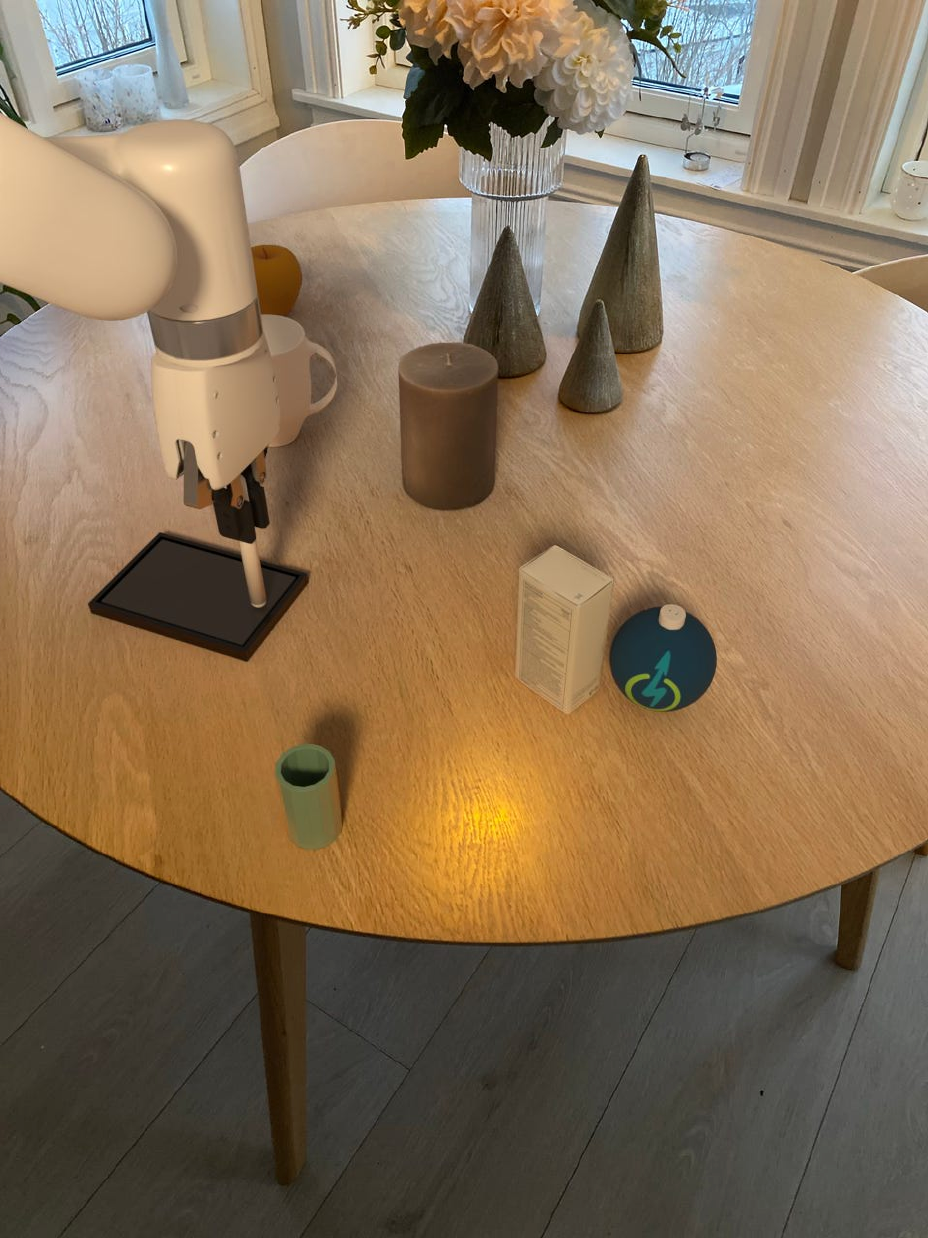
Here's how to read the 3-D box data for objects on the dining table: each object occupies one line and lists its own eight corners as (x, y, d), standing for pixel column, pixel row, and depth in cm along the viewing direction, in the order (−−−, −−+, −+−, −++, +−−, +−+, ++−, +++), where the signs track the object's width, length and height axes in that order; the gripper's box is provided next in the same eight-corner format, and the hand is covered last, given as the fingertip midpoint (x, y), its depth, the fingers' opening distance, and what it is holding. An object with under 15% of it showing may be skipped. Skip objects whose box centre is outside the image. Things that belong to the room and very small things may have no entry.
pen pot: (276, 840, 69) (263, 780, 64) (303, 796, 71) (293, 736, 67) (326, 858, 68) (317, 799, 63) (351, 813, 70) (345, 753, 66)
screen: (101, 603, 85) (100, 600, 85) (162, 541, 92) (162, 539, 91) (242, 646, 82) (242, 644, 81) (296, 579, 88) (295, 577, 88)
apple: (291, 293, 132) (283, 229, 126) (316, 318, 127) (310, 252, 121) (232, 307, 129) (221, 241, 123) (255, 333, 124) (245, 266, 118)
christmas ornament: (583, 696, 79) (596, 607, 72) (641, 643, 84) (658, 555, 77) (669, 750, 75) (692, 662, 68) (725, 691, 80) (751, 603, 73)
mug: (234, 459, 103) (216, 357, 95) (236, 415, 109) (219, 316, 101) (343, 451, 104) (335, 350, 96) (339, 408, 111) (330, 310, 102)
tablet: (90, 613, 85) (87, 603, 85) (162, 541, 93) (159, 531, 92) (247, 662, 81) (245, 652, 80) (308, 582, 89) (307, 573, 88)
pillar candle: (485, 517, 96) (490, 383, 86) (391, 504, 98) (385, 371, 87) (501, 463, 103) (508, 333, 93) (413, 451, 105) (410, 323, 94)
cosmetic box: (601, 690, 80) (619, 580, 71) (565, 718, 77) (580, 608, 69) (545, 651, 83) (556, 541, 74) (509, 677, 80) (516, 567, 72)
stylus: (248, 608, 85) (222, 477, 75) (256, 598, 85) (232, 468, 76) (262, 612, 84) (238, 481, 74) (270, 602, 85) (247, 471, 75)
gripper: (219, 268, 73) (253, 470, 85) (90, 363, 62) (151, 577, 75) (307, 285, 71) (329, 489, 83) (190, 386, 60) (235, 601, 73)
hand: (244, 529), depth 79 cm, fingers closed on stylus, 1 cm apart
